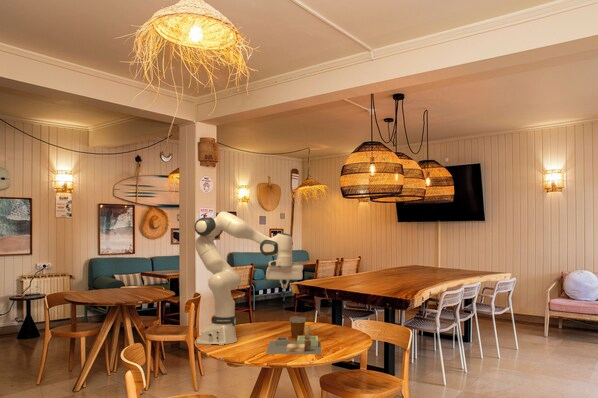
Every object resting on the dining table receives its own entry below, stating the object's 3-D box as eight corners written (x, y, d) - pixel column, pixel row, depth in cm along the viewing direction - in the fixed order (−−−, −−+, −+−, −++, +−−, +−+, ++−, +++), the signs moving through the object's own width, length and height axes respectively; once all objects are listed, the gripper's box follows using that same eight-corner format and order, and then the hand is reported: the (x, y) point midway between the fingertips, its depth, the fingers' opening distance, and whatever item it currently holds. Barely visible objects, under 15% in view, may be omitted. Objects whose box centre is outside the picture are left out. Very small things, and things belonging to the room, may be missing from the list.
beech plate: (286, 351, 235) (286, 347, 235) (287, 348, 242) (287, 343, 242) (304, 352, 234) (304, 347, 235) (304, 348, 241) (304, 344, 242)
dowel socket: (275, 345, 247) (275, 340, 247) (276, 342, 253) (276, 337, 254) (287, 345, 247) (287, 340, 247) (288, 343, 253) (288, 337, 253)
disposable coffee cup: (304, 341, 261) (304, 319, 262) (287, 340, 263) (287, 318, 264) (307, 337, 270) (307, 316, 271) (291, 336, 272) (291, 315, 273)
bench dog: (304, 351, 236) (304, 341, 237) (304, 349, 239) (304, 339, 240) (310, 351, 236) (310, 341, 236) (310, 349, 239) (310, 339, 240)
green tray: (297, 346, 245) (297, 340, 245) (297, 342, 255) (297, 335, 255) (318, 347, 245) (318, 340, 245) (317, 342, 255) (317, 335, 255)
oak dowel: (304, 343, 249) (304, 326, 249) (305, 342, 252) (306, 325, 252) (309, 344, 248) (310, 327, 249) (310, 343, 251) (311, 326, 252)
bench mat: (265, 355, 231) (265, 353, 231) (270, 342, 257) (270, 341, 257) (321, 355, 231) (321, 354, 231) (320, 343, 257) (320, 341, 257)
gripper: (303, 262, 257) (303, 287, 256) (266, 262, 257) (266, 287, 256) (303, 263, 251) (303, 288, 250) (265, 262, 251) (265, 288, 250)
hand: (284, 287), depth 253 cm, fingers closed
